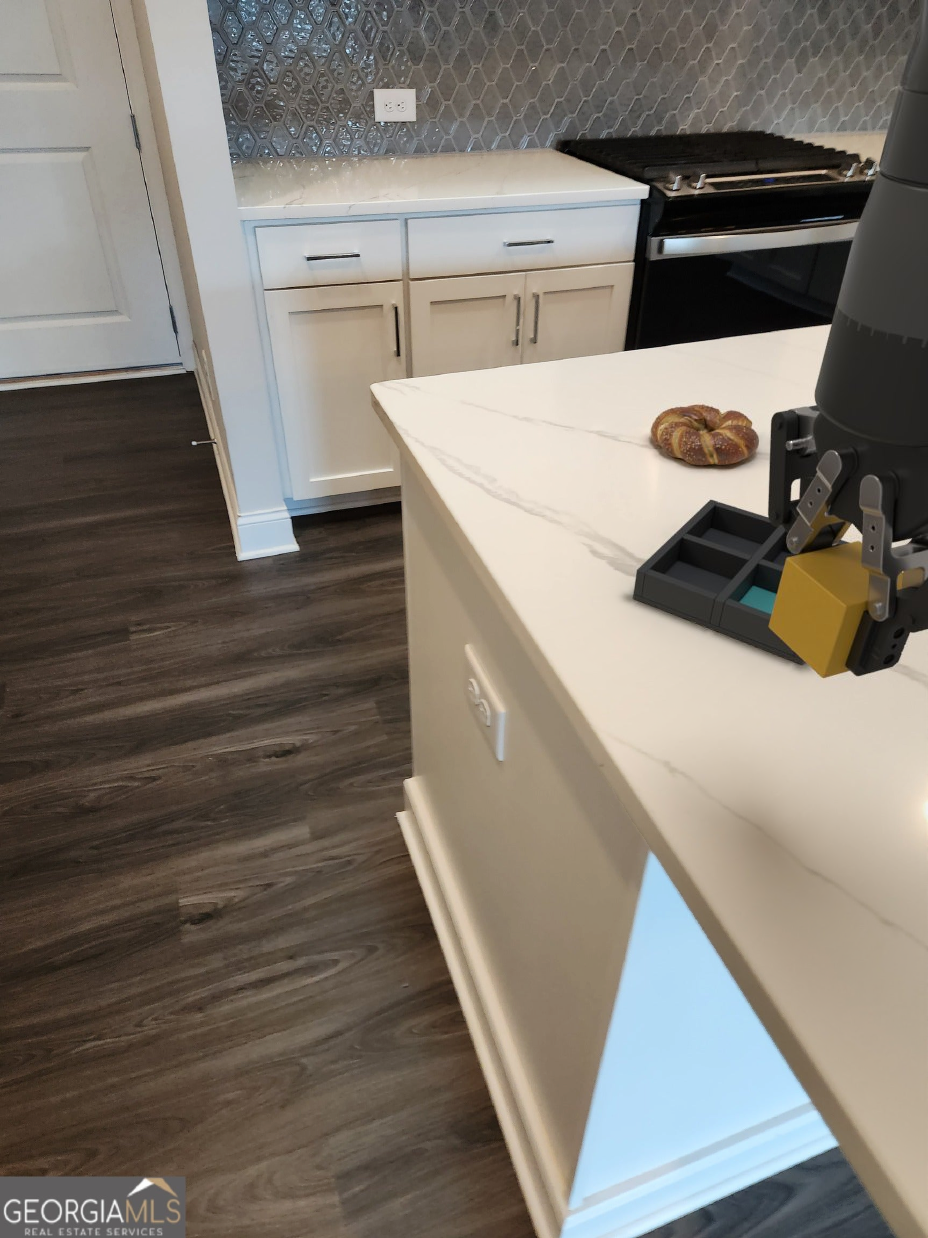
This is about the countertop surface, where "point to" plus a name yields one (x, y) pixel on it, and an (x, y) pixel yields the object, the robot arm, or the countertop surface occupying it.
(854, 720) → the countertop surface
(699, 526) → the tray
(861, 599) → the block
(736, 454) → the pretzel
